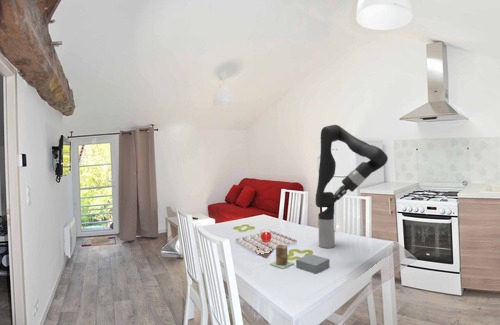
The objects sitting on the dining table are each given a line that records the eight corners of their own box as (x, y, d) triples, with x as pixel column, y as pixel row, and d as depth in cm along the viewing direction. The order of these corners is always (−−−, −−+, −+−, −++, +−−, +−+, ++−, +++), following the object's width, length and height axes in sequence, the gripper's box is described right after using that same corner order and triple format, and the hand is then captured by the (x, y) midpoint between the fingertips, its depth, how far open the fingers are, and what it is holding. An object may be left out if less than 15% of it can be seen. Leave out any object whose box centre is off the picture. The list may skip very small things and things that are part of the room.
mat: (280, 260, 176) (280, 259, 176) (293, 264, 170) (293, 263, 170) (269, 264, 170) (269, 263, 170) (282, 269, 164) (282, 268, 164)
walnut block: (287, 262, 172) (287, 245, 171) (285, 265, 167) (285, 248, 166) (278, 261, 173) (277, 244, 173) (276, 264, 168) (275, 247, 168)
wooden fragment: (256, 244, 206) (256, 242, 206) (273, 244, 205) (273, 243, 205) (254, 259, 180) (254, 257, 180) (274, 259, 180) (274, 257, 180)
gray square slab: (310, 261, 174) (310, 253, 174) (329, 266, 165) (329, 259, 165) (296, 267, 166) (296, 259, 165) (315, 273, 157) (315, 265, 157)
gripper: (347, 173, 170) (325, 194, 174) (348, 176, 157) (324, 199, 160) (358, 183, 169) (336, 205, 173) (359, 187, 155) (335, 210, 159)
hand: (330, 202), depth 167 cm, fingers open, 8 cm apart
